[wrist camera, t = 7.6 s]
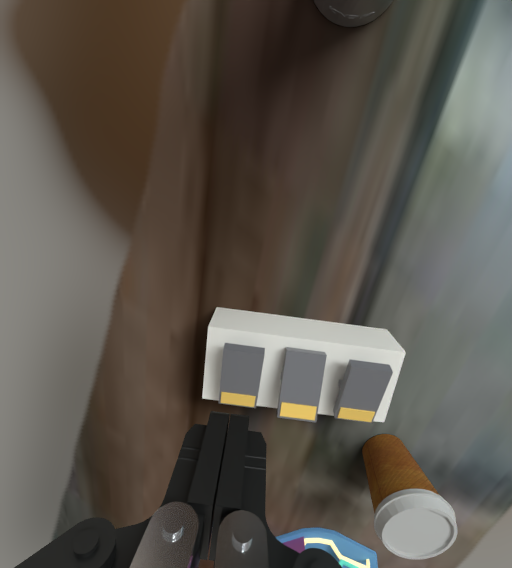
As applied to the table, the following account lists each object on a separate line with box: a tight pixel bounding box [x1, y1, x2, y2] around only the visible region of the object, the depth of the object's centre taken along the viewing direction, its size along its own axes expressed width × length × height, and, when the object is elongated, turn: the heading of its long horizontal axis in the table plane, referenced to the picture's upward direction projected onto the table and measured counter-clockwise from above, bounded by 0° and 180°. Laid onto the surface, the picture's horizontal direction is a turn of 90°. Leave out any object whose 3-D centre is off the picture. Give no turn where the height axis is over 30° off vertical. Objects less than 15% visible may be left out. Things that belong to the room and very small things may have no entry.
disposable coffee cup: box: [362, 434, 458, 559], centre depth 41 cm, size 10×10×12 cm
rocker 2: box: [277, 347, 327, 422], centre depth 35 cm, size 8×4×1 cm, turn 172°
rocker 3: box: [333, 359, 393, 423], centre depth 35 cm, size 8×4×1 cm, turn 173°
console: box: [202, 307, 406, 422], centre depth 39 cm, size 10×23×7 cm, turn 83°
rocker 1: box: [219, 343, 265, 408], centre depth 35 cm, size 8×4×1 cm, turn 173°
